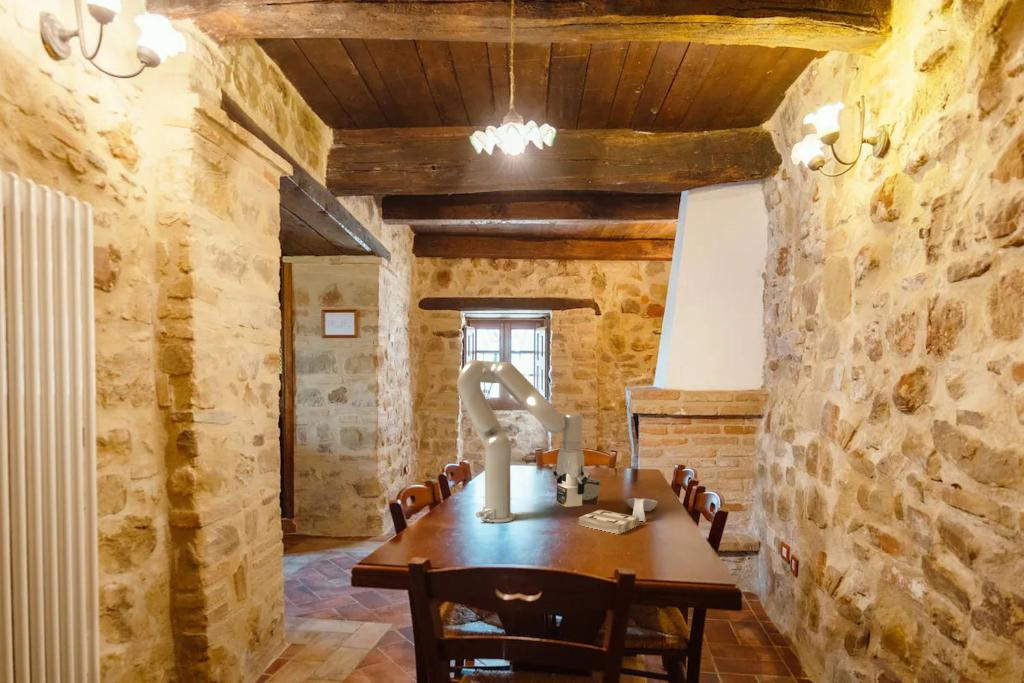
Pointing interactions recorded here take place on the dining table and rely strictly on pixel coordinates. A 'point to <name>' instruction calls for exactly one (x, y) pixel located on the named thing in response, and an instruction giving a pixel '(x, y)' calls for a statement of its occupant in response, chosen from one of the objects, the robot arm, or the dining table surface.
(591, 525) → the birch plinth
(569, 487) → the medicine bottle
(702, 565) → the dining table surface
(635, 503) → the spoon rest
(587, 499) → the food container
